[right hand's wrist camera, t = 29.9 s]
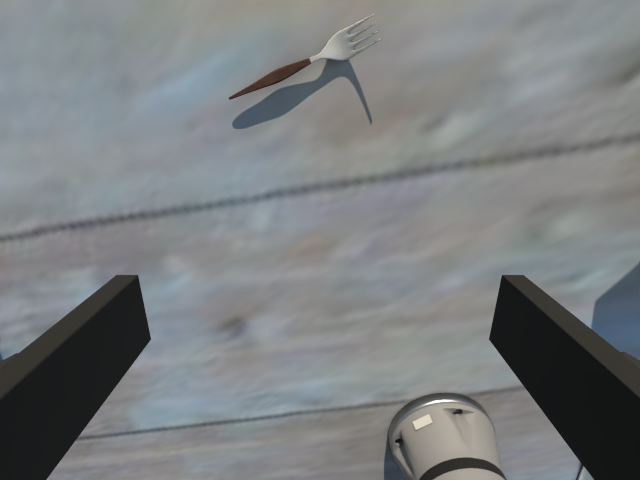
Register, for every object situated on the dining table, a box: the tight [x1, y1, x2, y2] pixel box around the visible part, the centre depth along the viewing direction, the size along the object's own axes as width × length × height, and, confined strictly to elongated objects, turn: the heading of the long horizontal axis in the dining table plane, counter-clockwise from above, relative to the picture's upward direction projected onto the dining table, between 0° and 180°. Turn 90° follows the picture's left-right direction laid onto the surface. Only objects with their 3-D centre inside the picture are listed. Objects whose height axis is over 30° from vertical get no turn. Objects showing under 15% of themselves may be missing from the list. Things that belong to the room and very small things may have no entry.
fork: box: [229, 14, 381, 100], centre depth 34 cm, size 3×16×2 cm, turn 113°
